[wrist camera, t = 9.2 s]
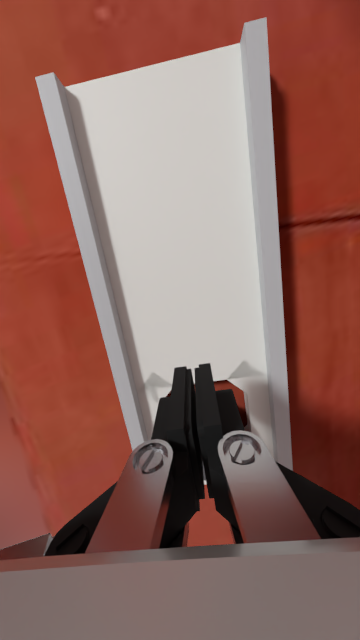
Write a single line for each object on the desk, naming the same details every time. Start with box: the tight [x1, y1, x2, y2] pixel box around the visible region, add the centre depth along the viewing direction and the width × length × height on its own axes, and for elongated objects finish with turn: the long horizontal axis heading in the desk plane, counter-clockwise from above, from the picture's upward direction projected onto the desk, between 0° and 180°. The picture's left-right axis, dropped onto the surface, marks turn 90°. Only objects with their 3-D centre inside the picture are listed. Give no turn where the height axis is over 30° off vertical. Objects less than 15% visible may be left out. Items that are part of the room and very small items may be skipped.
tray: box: [35, 18, 293, 484], centre depth 16 cm, size 28×12×2 cm, turn 9°
